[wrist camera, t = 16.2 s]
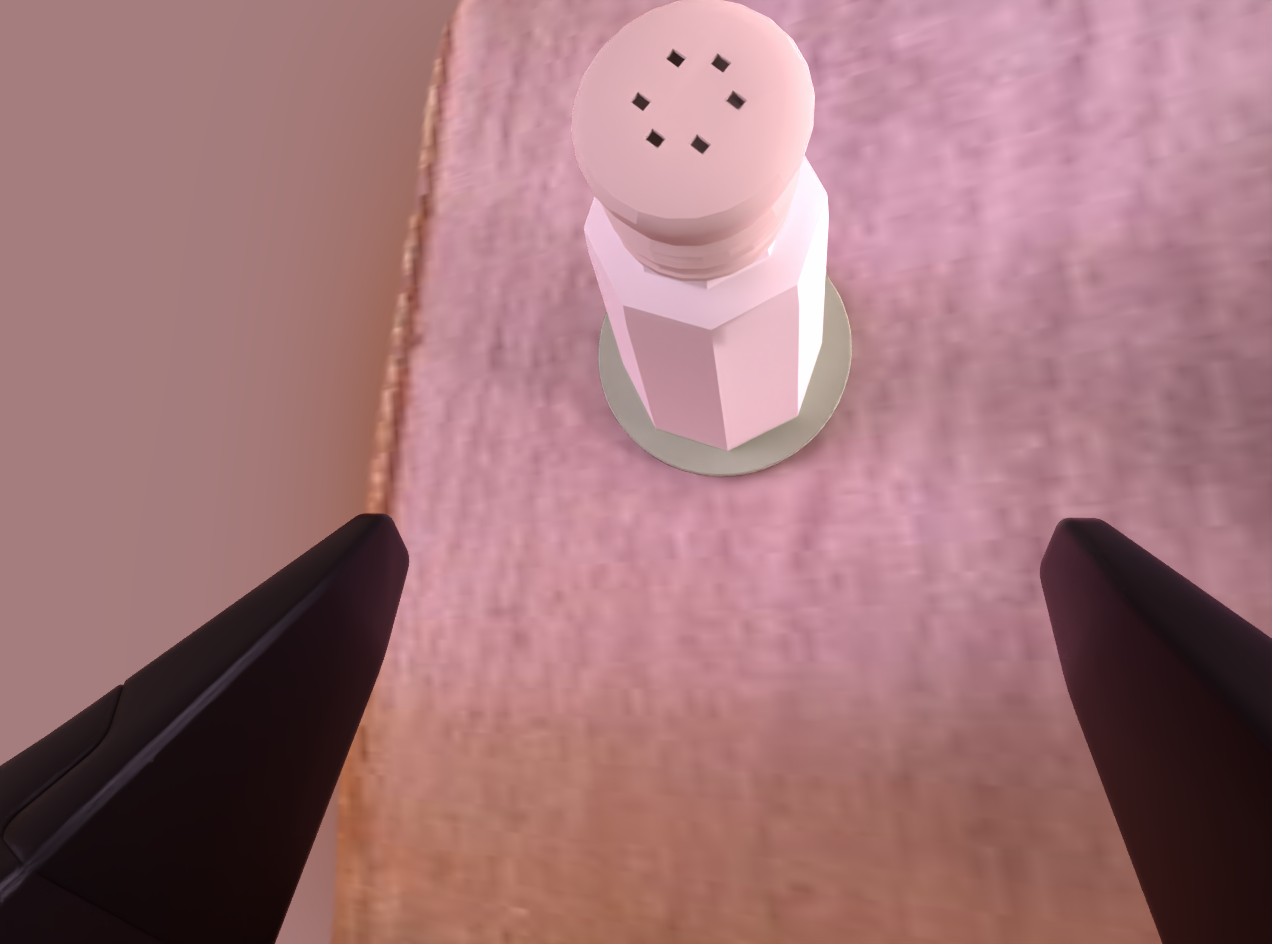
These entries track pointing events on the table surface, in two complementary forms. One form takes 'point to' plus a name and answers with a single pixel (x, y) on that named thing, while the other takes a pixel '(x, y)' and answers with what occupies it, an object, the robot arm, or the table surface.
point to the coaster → (758, 451)
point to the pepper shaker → (706, 216)
